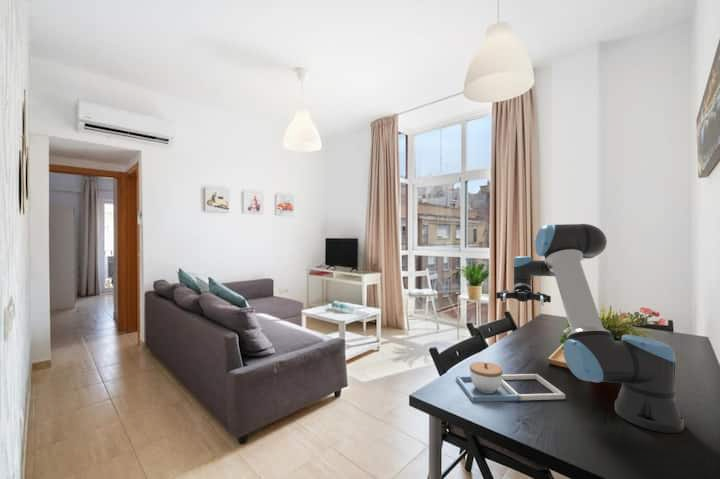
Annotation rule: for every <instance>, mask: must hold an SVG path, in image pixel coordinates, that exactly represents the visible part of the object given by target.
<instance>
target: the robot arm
mask: <svg viewBox="0 0 720 479" xmlns="http://www.w3.org/2000/svg"><path fill="white" fill-rule="evenodd" d="M607 242H608V241H607V237H606V235H605V233H604V232H603V231H602V230H601V229H600V228H599V227H598V226H595V225H592V224H587V223H571V224H570V223H568V224H567V223H566V224H555V223H552V224H544V225H542V226H541V227H539V228H538V230H537V233H536V237H535V242H534V246H535V247H534V249H535V253H536V254H537V256H539V257H544V260H540V259H539V260H533V259H532V258H531V256H523V255H522V256H521V255H519V256H515V257H514V258H513V266H512V267H513V290H512V291H510V290H508V289H505V290H502V291H497V292H496V293H495V295H496V296H495V297H496V299H497V300H498V299H500V301H501V302H502V303H506V300H507V299H509V300H510V299H514V300H517V301H519V302H523V303H524V302H528V301H533V300H534V301H538V302H540V305H541V306H544V305H545V304H544V303H551V302H552V301H551V300H552V297H551V295H548V294H546V293H542V292H540V291H537V292H535V293H534V292H533V290H532V277H555V281H556V285H557V287H558V291H559V295H560V297H561V301H562V306H563V308H564V311H565V315H566V317H567V322H568V324H569V328H570V331H569V333H568V334H567V336H566V337H567V340H565V341H564V343H563V357H564V360H565V363H566V365H567V367H568V369H569V371H571V373H572V374H573V375H574V376H575V377H576V378H577V379H579V380H581V381H584V382H585V381H586V382H593V383H597V384H598V383H601V382H602V383H619V384H621V388H620V390H619V393H618V394H617V398H616V399H615V401H614V411H615V413H616V414H617V415H618V416H619V417H620V418H622V419H623V420H625V421H626V422H628V423H631V424H633V425H635V426H638V427H640V428H644V429H647V430H650V431H655V432H660V433H666V434H667V433H668V434H677V433H681V432H683V431H684V429H685V420H684V416H683V415H682V414H681V411H680V407H679V405H678V403H677V400H676V363H677V360H676V355H675V350H674V348H673V347H672V346H671V345H669V344H667V343H666V342H663V341H661V340H660V341H659V340H657V339H652V338H649V337H645V336H642V335H640V336H639V335H634V334H622V335H621V338H620V339H621V340H615V339H614V337H613V334H612V332H611V331H610V330H608V329H606V328H604V326H603V324H602V320H601V318H600V315H599V311H598V308H597V306H596V303H595V301H594V300H595V299H594V297H593V295H592V292H591V289H590V286H589V282H588V280H587V277H586V275H585V271H584V268H583V265H582V263H581V262H582V261H584V260H585V259H586V260H587V259H588V260H589V259H593V258H595V257H597V256H599V255H600V254H601V253H603V251H605V249H606V247H607V244H608V243H607Z"/></svg>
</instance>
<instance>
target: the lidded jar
mask: <svg viewBox="0 0 720 479" xmlns="http://www.w3.org/2000/svg"><path fill="white" fill-rule="evenodd" d="M469 372H470V373H469V376H471V380H472V381H471V383H472V384H473V386H474V387H475V388H476V390H477V391H479V392H481V393H483V394H494V393H496V391H498V389H500V387H501V386H502V385H501V382H502V375H503V368H502V367H501V366H499V365H498V364H495V363H491V362H489V361H475V362H472V363H471V364H469Z"/></svg>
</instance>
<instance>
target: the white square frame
mask: <svg viewBox="0 0 720 479" xmlns="http://www.w3.org/2000/svg"><path fill="white" fill-rule="evenodd" d="M509 380H511V381H512V380H513V381H514V380H536V381H537V382H539V383H540V384H542V385H543V386H545V387H546V388H547V389H548V390H549V391H551V392H552V393H550V392H549V393H521V394H520V393H518V392H517V391H516V390H515V389H514V388H513V387H512V386H511V385H510V384H508V383H507V382H506V381H509ZM500 386H502V387H503V388H504V389H505V390H506V391H507V392H508V393H509V395H513V394H518V395H519V396H518V400H517V401H538V400H539V401H541V400H542V401H544V400H566V394H565V393H564V392H562V391H561V390H560V389H559V388H557V387H556V386H554V384H552V383H550V382H548V381H547V380H546V379H545V378H543V377H542V376H540V375H539V374H538V373H519V374H518V373H515V374H514V373H513V374H502V382H501V385H500Z"/></svg>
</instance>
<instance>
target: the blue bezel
mask: <svg viewBox="0 0 720 479" xmlns="http://www.w3.org/2000/svg"><path fill="white" fill-rule="evenodd" d="M455 381H456V382H457V383H458V385H459V386H460V387H461V389H462V390H463V391H464V393H466V395H467V397H468V398H469V399H470V401H471V402H472V403H478V402H479V403H481V402H506V401H508V402H509V401H510V402H511V401H512V402H513V401H519V400H518V396H519V395H518V394H519V393H518V394H513V395H511V394H487V395H486V394H485V395H481V394H480V395H475V394H474V393H473V392H472V391H471V390H470V388H469V387H468V385H466V383H465V382H472V380H471V376H470V375H456V376H455Z"/></svg>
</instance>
